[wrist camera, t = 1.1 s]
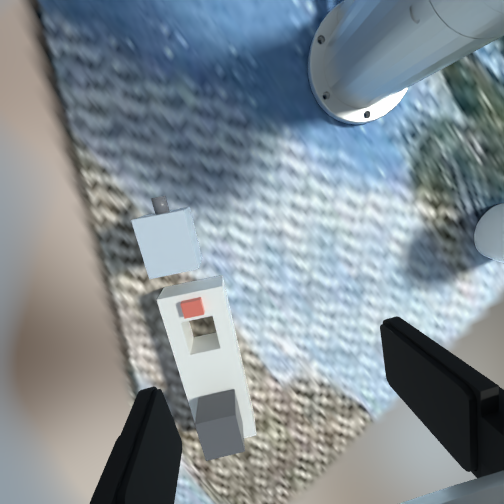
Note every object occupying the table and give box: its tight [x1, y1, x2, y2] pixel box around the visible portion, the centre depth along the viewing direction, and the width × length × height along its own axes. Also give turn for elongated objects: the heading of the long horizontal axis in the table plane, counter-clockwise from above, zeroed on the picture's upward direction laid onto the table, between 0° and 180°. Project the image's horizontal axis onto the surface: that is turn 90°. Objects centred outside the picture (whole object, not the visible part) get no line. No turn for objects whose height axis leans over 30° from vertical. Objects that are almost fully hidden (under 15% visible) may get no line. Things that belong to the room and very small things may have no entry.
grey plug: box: [131, 196, 202, 279], centre depth 28 cm, size 8×5×8 cm, turn 10°
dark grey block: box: [195, 389, 245, 461], centre depth 35 cm, size 8×5×8 cm, turn 10°
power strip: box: [157, 275, 256, 438], centre depth 35 cm, size 24×8×5 cm, turn 10°
